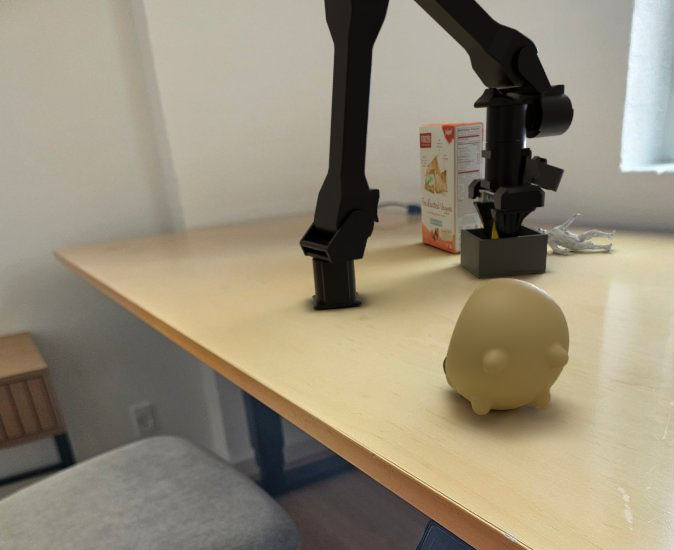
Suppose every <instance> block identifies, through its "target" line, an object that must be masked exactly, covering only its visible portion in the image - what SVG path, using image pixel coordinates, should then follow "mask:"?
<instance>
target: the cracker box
mask: <svg viewBox="0 0 674 550" xmlns="http://www.w3.org/2000/svg"><path fill="white" fill-rule="evenodd" d="M484 125H485V124H484V121H450V122H438V123H426V124H421V125H419V161H420V162H419V163H420V164H419V165H420V168H419V169H420V205H421V207H420V208H421V241H422V243H423V244H427V245H429V246H432V247H435V248H438V249H441V250H444V251H447V252H450V253H452V254H461V230H464V229H475V228H483V225H482V222H481V220H480V217H479V215H478V213H477V210H476V208H475V206H474V205H473V202H475V201H478V197H476V199H470V198H468V186H469V185H470V183H471V182H472V181H473V180H474V179H483V178H484V158H482V157H481V152H482V150H484V136H485V134H484V133H485V129H484V128H485V126H484Z"/></svg>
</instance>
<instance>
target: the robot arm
mask: <svg viewBox="0 0 674 550" xmlns="http://www.w3.org/2000/svg"><path fill="white" fill-rule="evenodd" d="M413 1H414V2H415V3H416V4H417V5H418V6H419V7H420V8H421V9H422V11H424V12H425V13H426V14H427V15H428V16H429V17H430V18H432V20H434V22H436V24H438V25H439V26H440V27H441V28H442V29H443V31H445V32H446V33H447V35H449V36H450V37H451V38H452V39H453V40H454V41H455V42H456V43H457V44H458V45H460V46H461V48H463V50H464V51H465V52H466V53H467V55H468V56H469V60H470V65H471V68H472V70H473V72H474V73H475V74H476V76H477V77H478V79H479V80H480V81H481V82H482V84H483V85H484V86H485V89H484V91H483V92H482V94H481V95H480V97H478V98H477V99H476V101H474V103H473V108H474V109H484V108H485V109H486V112H485V113H486V114H485V115H486V116H485V146H484V147H485V148H484V149H483V150H482V152H481V157H482V158H483V159H484V177H483V179H474V180H473V181H472V182H471V183H470V185H469V186H468V198H470V199H476V197H478V201H475V202H473V205H474V206H475V208H476V210H477V213H478V215H479V217H480V220H481V222H482V228H484V230H485V232H486V235H487V237H488V239H491V237H492V229H493V226H494V223H495V227H496V230H497V234H498V237H499V238H507V237H517V236H518V233H519V230H520V227H521V225H522V224H523V222H524V220H525V219H526V218H527V217H528V216H530V214H531V213H533V212H536V210H537V208H544V207H545V202H546V201H545V200H546V191H552V192H556V193H557V191H558V189H559V186H560V184H561V181H562V179H563V176H564V174H565V171H566V170H565V169H564V168H561V167H558V166H554V165H553V164H552V165H551V164H549V163H548V159H547V158H546V157H541V156H539V155H534V156H533V150H532V149H531V147H527V139H539V138H547V137H558V136H559V137H560V136H561V135H564V134H565V133H566V132H567V131H568V130H569V129H570V127H571V126H572V123H573V120H574V115H575V109H574V107H573V103H572V101H571V99H570V97H569V95H568V94H566V93H565V91H566V90H565V88H566V86H565V84H563V83H562V84H554V85H552V84H551V82H550V80H549V77H548V75H547V73H546V71H545V68H544V67H543V64H542V61H541V60H540V59H541V58H540V57H539V55H538V54H539V49H538V46H537V45H536V44H535V42H534V40H532V39H531V38H529V36H527V35H525V34H524V33H522V32H520V31H519V30H518V29H516V28H513V27H510V26H507V25H505V24H502V23H500V22H498V21H497V20H495V19H494V18H493V17H492V16H491V15H490V14H489V13H488V11H486V10H485V9H484V8H483V6H482V5H480V4H479V2H478V1H476V0H413ZM323 2H324V13H325V15H324V16H325V22H326V24H327V27H328V30H329V33H330V37H331V40H332V43H333V69H332V86H331V87H332V88H331V89H332V91H331V108H330V110H331V113H330V129H329V130H330V132H329V148H328V149H329V152H328V169H327V174H326V176H325V178H324V179H323V183H322V184H321V187H320V189H319V191H318V194H317V199H316V204H315V208H314V209H315V210H314V213H313V221H312V222H311V224H310V226H309V227H308V229H307V230H306V231H305V233H304V235H303V236H302V237H301V239H300V240H299V246H300V249H301V251H302V253H303V255H304V256H305V257H311V258H312V259H311V262H312V263H311V264H312V274H313V285H314V286H313V287H314V295H311V297H312V304H313V309H314V310H321V309H322V310H323V309H333V308H334V309H335V308H344V307H354V306H361V305H362V304H363V303H362V299H361V296H360V294H359V291H357V283H356V282H357V281H356V266H355V265H356V264H355V261H356V260H357V261H358V260H362V259H363V258H364V255H365V252H366V247H367V243H368V240H369V238H370V237H372V235H373V233H374V229H375V228H374V227H375V223H379V222H380V220H379V216H378V206H379V202H380V197H381V196H380V195H381V193H380V189H379V188H371V187H370V185H369V182H368V178H367V176H366V164H367V163H366V162H367V161H366V160H367V145H368V134H369V133H368V131H369V119H370V117H369V116H370V104H371V103H370V102H371V87H372V72H373V59H374V58H373V57H374V48H375V44H376V41H377V39H378V37H379V34H380V32H381V30H382V28H383V26H384V24H385V21H386V18H387V14H388V10H389V5H390V0H323ZM545 190H546V191H545Z"/></svg>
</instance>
